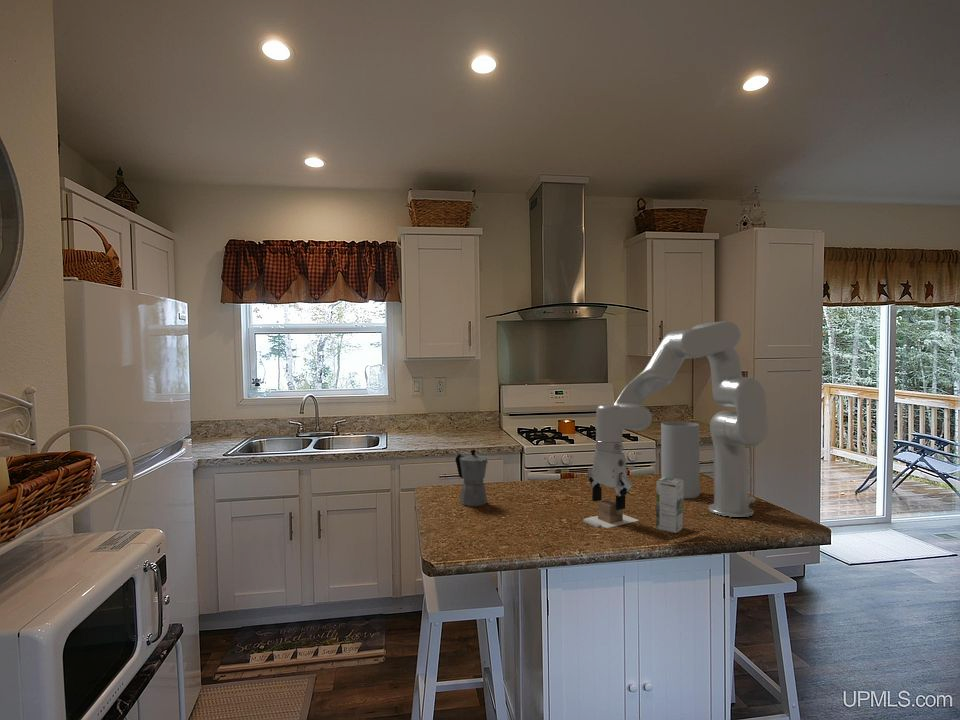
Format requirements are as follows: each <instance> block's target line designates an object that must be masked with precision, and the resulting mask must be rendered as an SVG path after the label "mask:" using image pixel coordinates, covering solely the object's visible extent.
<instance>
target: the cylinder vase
mask: <svg viewBox="0 0 960 720" xmlns="http://www.w3.org/2000/svg"><path fill="white" fill-rule="evenodd" d="M660 427H661V428H660V433H661V434H660V436H661V437H660V442H661V445H660V446H661V449H660V450H661V451H660V452H661V454H660V455H661V457H660V458H661V459H660V460H661V462H660V463H661V478H663V477H672V478H677V479H681V480H683V481H684V482H683V500H684V499H685V500H688V499H690V498H691V499H696V498H699V496H700V494H701V493H700V491H701V487H700V486H701V485H700V482H701V481H700V480H701V479H700V477H701V476H700V468H701V467H700V424H699V423H696V422H687V421H664V422H661V423H660ZM691 499H690V500H691Z"/></svg>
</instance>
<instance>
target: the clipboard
mask: <svg viewBox="0 0 960 720" xmlns="http://www.w3.org/2000/svg"><path fill="white" fill-rule="evenodd" d="M638 521H640V519H637V518H634V517H631V516H628V515H626V514H623V521H619V522H615V523H607V522H605V521H602V520H600V519H598V515H596V516H590V517H586V518H583V520H582V522H584V523H586V524H588V525H591V526H594V527H595V528H599V527H600V528H601V527H603V528H606V529H608V528H612V527H617V526H622V525H626V524H630V523H631V524H632V523H634V522H635V523H636V522H638Z"/></svg>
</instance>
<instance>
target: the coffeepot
mask: <svg viewBox="0 0 960 720" xmlns="http://www.w3.org/2000/svg"><path fill="white" fill-rule="evenodd" d="M476 451H477V450H476V449H474V448H473V449H471V450H470V453H471V454H470V455H469V454H468V455H467V454H462V453H458V454H457V456H455V464H456V468H457V472H458V477H459V478H461V479H463V483H462V487H461V492H460V493H461V494H460V500H459V503H460V504H461V503H462V504H463V505H462V504H461V505H462V506H465V505H467V506H466V507H481V506H484V505H486V504H487V503H488V498H487V492H486V486H485V483H484V478H485V477H486V470H487V464H488V462H489V461H488V457H485V456H482V455H478V454H476Z"/></svg>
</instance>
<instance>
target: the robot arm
mask: <svg viewBox="0 0 960 720" xmlns="http://www.w3.org/2000/svg"><path fill="white" fill-rule="evenodd" d="M741 336H742V335H741V329H740V328H739V326H738V325H737V324H736V323H734V322H732V321H728V320H724V321H723V320H722V321H713V322H704V323H700V324H696V325H695V326H693V327H692V328H691V329H690V328H689V329H682V330H681V329H680V330H679V329H678V330H673V331H670V332H668V333H666V334H665V335H664V336H663V338H662V340H661V341H660V343H659V345H658V346H657V348H656V349H655V351H654V353H653V354H652V356H651V358H650V359H649V361H648V363H647V364H646V366H645V368H644V369H643V370H642V371H641V372H640V373H639V374H638V375H637V376H635V377H634V378H633V379H632V380H631V381H629V383H627V385H626V386H625V387H624V388H623V389H622V391H621V393H619V396H618V398H617V399H616V401H615V402H614V404H601V405H598V406H597V407H596V412H595V413H596V414H595V415H596V416H595V417H596V418H595V419H596V420H595V426H596V427H595V434H596V435H595V449H594V453H593V461H592V468H591V469H589V470H587V472H586V473H587V476H588V480H589V483H590V487H591V488H592V489H591V491H592V492H591V493H592V499H591V500H592V502H600V501H602V497H603V495H602V493H603V492H602V490H603V489H602V486H606V487H608V488H613V489H614V491H615V493H616V494H617V495H615V501H616V510H621V509H623V510H625V509H626V496H628V493H629V492H630V491H631V487H632V485H633V482H632V481H631V480H630V479H629V477H628V473H627V462H626V456H625V452H623V450H624V445H623V430H628V431H629V430H631V431H643V430H645V429H647V428H649V426H650V425H651V424H652V422H653V421H652V420H653V416H652V413H651V411H650V410H649V409H648V408H647V407H645V406H644V405H641V404H642V403H643V402H644V400H646V399H647V398H648V397H649V396H650V395H652V394H654V393H657V392H658V391H661V390H663V389H664V388H666V387H668V386H669V385H670V384H671V383H672V381H673V380H674V378H675V376H676V374H677V372H678V371H679V369H680V368H681V366H682V364H683V363H684V362H685V360H686V359H697V358H703V357H706V358H707V360H708V362H709V366H710V375H711V389H712V396H713V400H714V402H715V403H716V404H717V405H719V406H723V407H727V408H732V409H733V408H734V409H735V411H734V410H721V411H718V412H716V413H715V414H714V415H713V416H712V417H711V420H710V422H709V431H710V436H711V441H712V445H713V446H712V449H713V503H711V504H709V505H708V511H709V512H710V513H712V514H714V513H715V514H714V515H717V514H718V516H720V515H722V516H721V517H725V516H729V517H728V518H731V517H748V518H750V517H749V516H752V515H753V514H755V512H754V510H753V509H752V508H751V507H750V506H749V505H751V504H754V503H756V498H755V497H754V496H749V493H748V492H749V490H748V489H749V483H748V482H749V481H748V479H749V477H748V476H749V475H748V474H749V473H748V470H749V469H748V462H749V460H748V459H749V458H748V452H747V449H746V447H745V446H748V447H757V446H759V445H762V444H763V443H764V442H765V440H766V438H767V436H768V431H769V426H768V424H769V423H768V411H767V409H768V408H767V395H766V391H765V388H764V387H763V385H762V384H761V383H760V382H759V381H758V380H757V379H755V378H753V377H748V376H747V377H746V376H743V373H742V365H741V359H740V356H739V353H738V352H737V349H736V348H735V347H737V345H738V344H739V342H740V340H741ZM753 516H754V515H753ZM753 516H752V517H753Z"/></svg>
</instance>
